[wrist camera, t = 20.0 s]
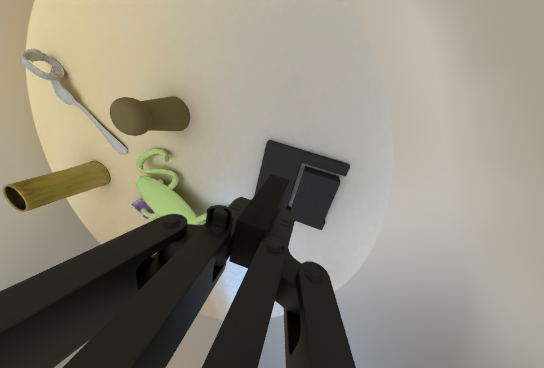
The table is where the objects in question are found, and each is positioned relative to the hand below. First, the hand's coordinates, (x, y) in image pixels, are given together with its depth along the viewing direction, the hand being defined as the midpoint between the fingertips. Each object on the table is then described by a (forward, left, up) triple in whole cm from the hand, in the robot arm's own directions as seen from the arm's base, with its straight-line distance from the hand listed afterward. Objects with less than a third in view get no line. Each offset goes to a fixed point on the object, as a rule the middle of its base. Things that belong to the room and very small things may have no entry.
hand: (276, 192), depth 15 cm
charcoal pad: (-5, +7, -20) cm, 21 cm away
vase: (+44, +20, -20) cm, 52 cm away
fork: (+44, +6, -20) cm, 49 cm away
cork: (+24, +1, -20) cm, 31 cm away
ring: (+50, -1, -20) cm, 54 cm away
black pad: (-1, +7, -20) cm, 21 cm away
